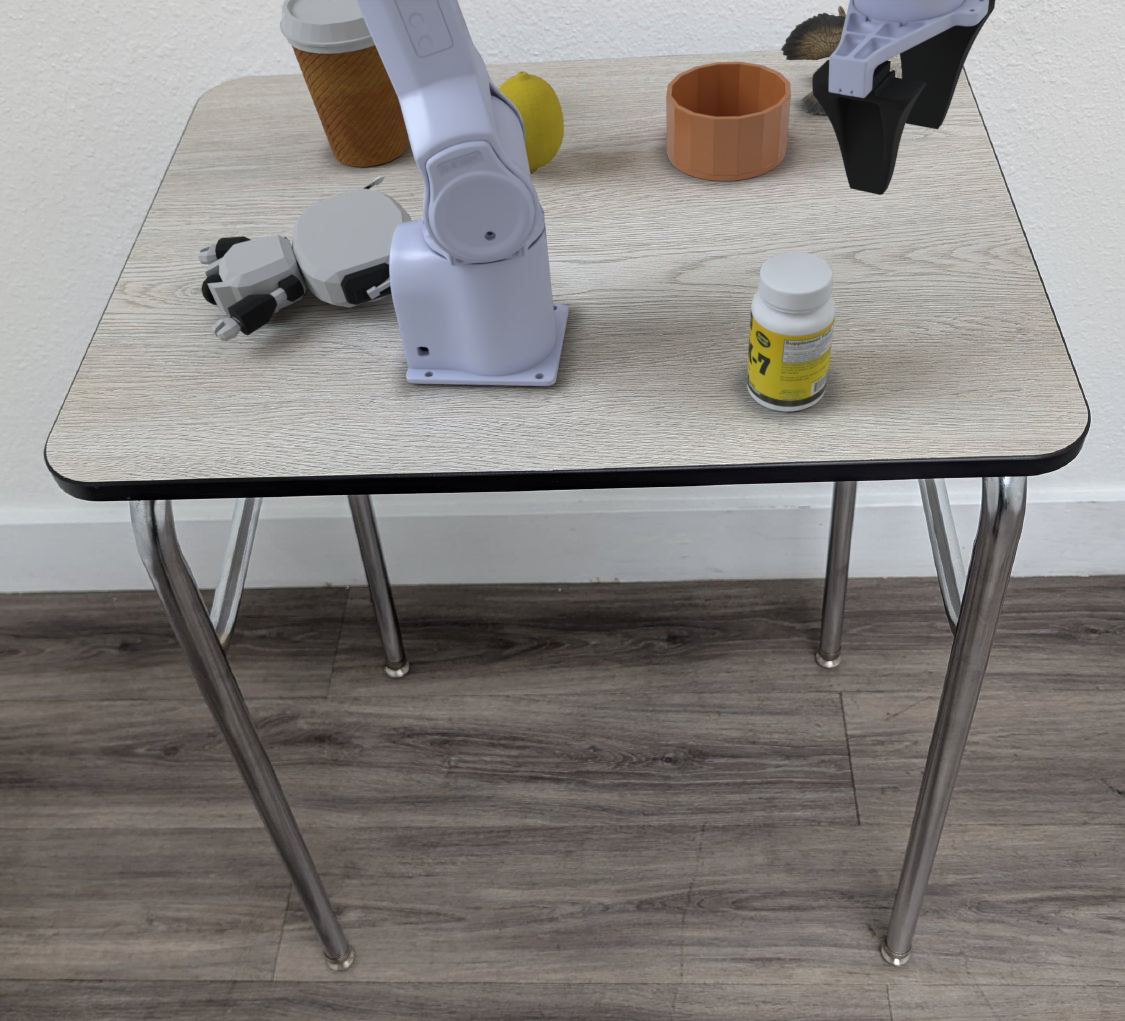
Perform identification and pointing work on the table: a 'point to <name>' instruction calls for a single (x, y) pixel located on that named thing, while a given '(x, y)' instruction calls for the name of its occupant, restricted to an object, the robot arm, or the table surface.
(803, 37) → the eagle figurine
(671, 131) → the copper cup
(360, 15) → the disposable coffee cup
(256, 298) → the robot toy
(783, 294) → the supplement bottle
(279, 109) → the table surface
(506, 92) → the lemon
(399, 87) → the robot arm
